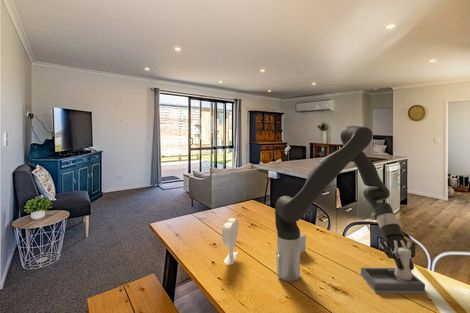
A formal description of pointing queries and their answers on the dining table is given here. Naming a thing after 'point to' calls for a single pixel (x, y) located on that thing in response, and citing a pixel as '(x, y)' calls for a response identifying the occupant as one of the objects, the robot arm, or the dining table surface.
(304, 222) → the dining table surface
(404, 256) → the salt shaker
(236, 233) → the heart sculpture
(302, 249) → the medicine box
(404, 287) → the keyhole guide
